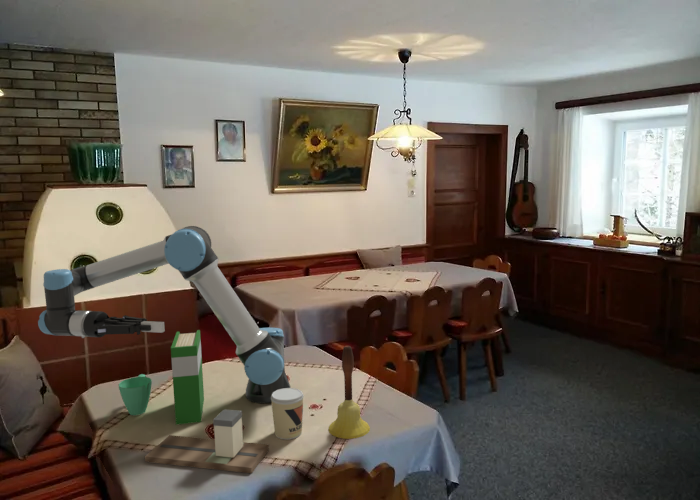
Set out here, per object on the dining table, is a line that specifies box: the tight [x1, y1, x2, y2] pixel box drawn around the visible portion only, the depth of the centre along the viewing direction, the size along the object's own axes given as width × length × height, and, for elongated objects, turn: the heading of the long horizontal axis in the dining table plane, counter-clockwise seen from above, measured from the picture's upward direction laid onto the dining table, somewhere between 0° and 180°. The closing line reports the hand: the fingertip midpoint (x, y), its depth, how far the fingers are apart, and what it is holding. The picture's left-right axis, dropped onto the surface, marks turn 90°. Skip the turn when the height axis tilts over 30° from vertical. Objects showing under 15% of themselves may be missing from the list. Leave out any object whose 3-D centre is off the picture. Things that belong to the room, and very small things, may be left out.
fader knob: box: [212, 408, 244, 458], centre depth 143 cm, size 5×6×10 cm
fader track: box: [144, 434, 270, 474], centre depth 145 cm, size 30×12×2 cm, turn 77°
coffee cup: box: [271, 387, 305, 440], centre depth 156 cm, size 9×9×12 cm
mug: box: [118, 373, 153, 416], centre depth 175 cm, size 15×10×10 cm
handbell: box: [327, 345, 371, 440], centre depth 158 cm, size 12×12×25 cm
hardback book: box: [170, 329, 205, 426], centre depth 172 cm, size 18×7×24 cm, turn 12°
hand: (162, 327), depth 154 cm, fingers closed
